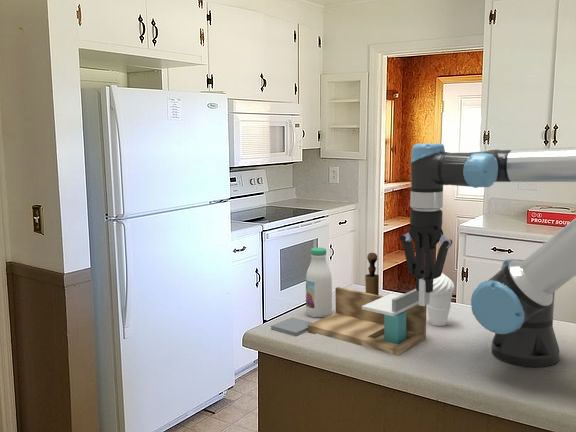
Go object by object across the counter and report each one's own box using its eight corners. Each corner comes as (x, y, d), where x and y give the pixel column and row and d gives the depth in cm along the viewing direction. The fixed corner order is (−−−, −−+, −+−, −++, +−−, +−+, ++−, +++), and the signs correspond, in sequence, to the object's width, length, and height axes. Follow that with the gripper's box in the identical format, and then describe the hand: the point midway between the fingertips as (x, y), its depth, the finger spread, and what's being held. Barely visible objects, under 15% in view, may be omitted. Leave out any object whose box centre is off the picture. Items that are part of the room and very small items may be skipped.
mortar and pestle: (357, 309, 175) (357, 251, 172) (376, 306, 177) (377, 249, 174) (367, 315, 169) (367, 256, 166) (386, 313, 170) (387, 254, 168)
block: (405, 341, 146) (406, 311, 145) (398, 346, 143) (398, 315, 142) (392, 338, 149) (392, 308, 148) (384, 342, 146) (384, 312, 145)
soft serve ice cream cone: (459, 327, 157) (461, 270, 155) (434, 331, 154) (435, 274, 152) (441, 318, 165) (442, 264, 163) (416, 322, 162) (417, 267, 160)
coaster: (316, 327, 160) (316, 323, 159) (296, 336, 153) (295, 332, 153) (292, 320, 165) (292, 317, 165) (271, 329, 159) (271, 325, 158)
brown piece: (425, 340, 148) (426, 305, 147) (398, 357, 138) (398, 319, 136) (338, 318, 166) (337, 287, 165) (308, 331, 156) (307, 298, 154)
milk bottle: (332, 310, 174) (331, 245, 171) (331, 318, 167) (331, 251, 164) (307, 309, 175) (306, 245, 172) (305, 317, 167) (304, 251, 164)
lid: (422, 327, 150) (423, 287, 148) (393, 344, 138) (393, 301, 137) (392, 320, 155) (393, 281, 154) (361, 336, 144) (361, 294, 142)
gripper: (459, 209, 134) (455, 305, 138) (409, 204, 143) (407, 296, 146) (444, 213, 129) (441, 313, 132) (394, 208, 137) (392, 303, 141)
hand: (424, 304), depth 139 cm, fingers closed
